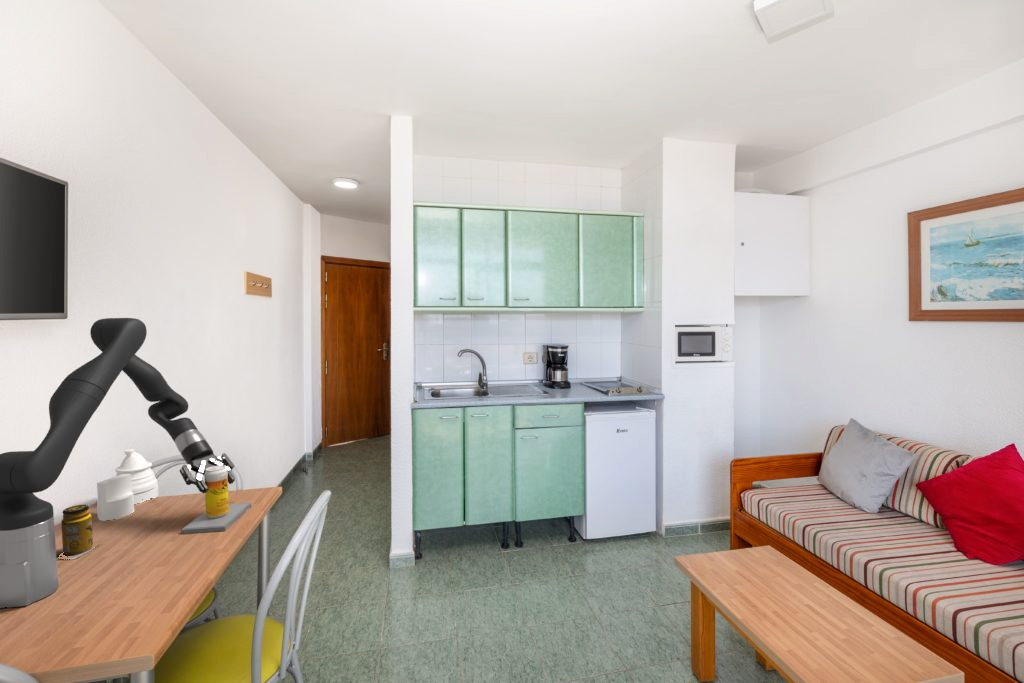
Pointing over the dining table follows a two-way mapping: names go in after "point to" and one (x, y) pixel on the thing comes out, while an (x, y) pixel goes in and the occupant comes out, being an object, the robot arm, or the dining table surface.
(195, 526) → the grey flat slab
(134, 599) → the dining table surface
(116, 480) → the base with upright slab
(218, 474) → the beer can
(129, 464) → the honey pot
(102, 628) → the dining table surface
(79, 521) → the condiment
